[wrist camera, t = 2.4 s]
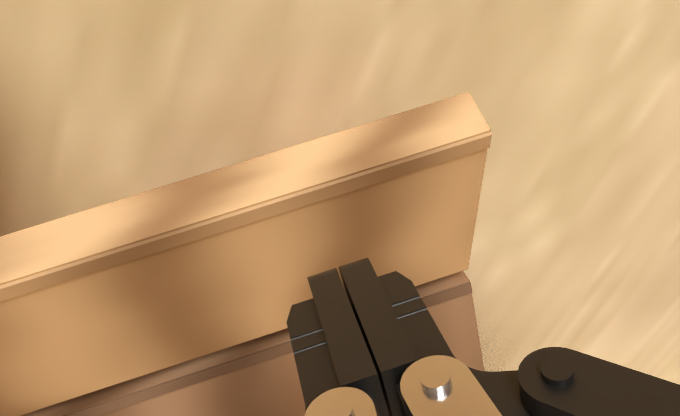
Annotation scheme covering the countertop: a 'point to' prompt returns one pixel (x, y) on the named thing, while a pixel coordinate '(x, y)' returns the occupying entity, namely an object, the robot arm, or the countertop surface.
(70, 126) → the countertop surface
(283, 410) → the walnut board
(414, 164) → the oak plank
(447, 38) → the countertop surface
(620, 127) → the countertop surface
